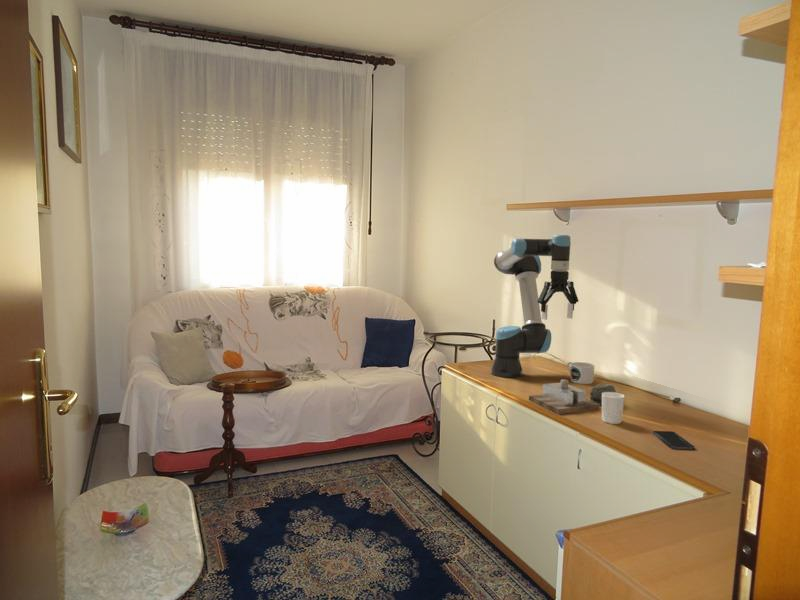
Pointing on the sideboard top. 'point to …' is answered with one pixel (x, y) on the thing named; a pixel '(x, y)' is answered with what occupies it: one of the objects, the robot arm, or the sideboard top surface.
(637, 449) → the sideboard top surface
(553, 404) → the base
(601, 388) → the fossil
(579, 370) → the mug
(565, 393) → the grey block
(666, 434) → the phone
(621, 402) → the white cup
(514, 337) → the robot arm
